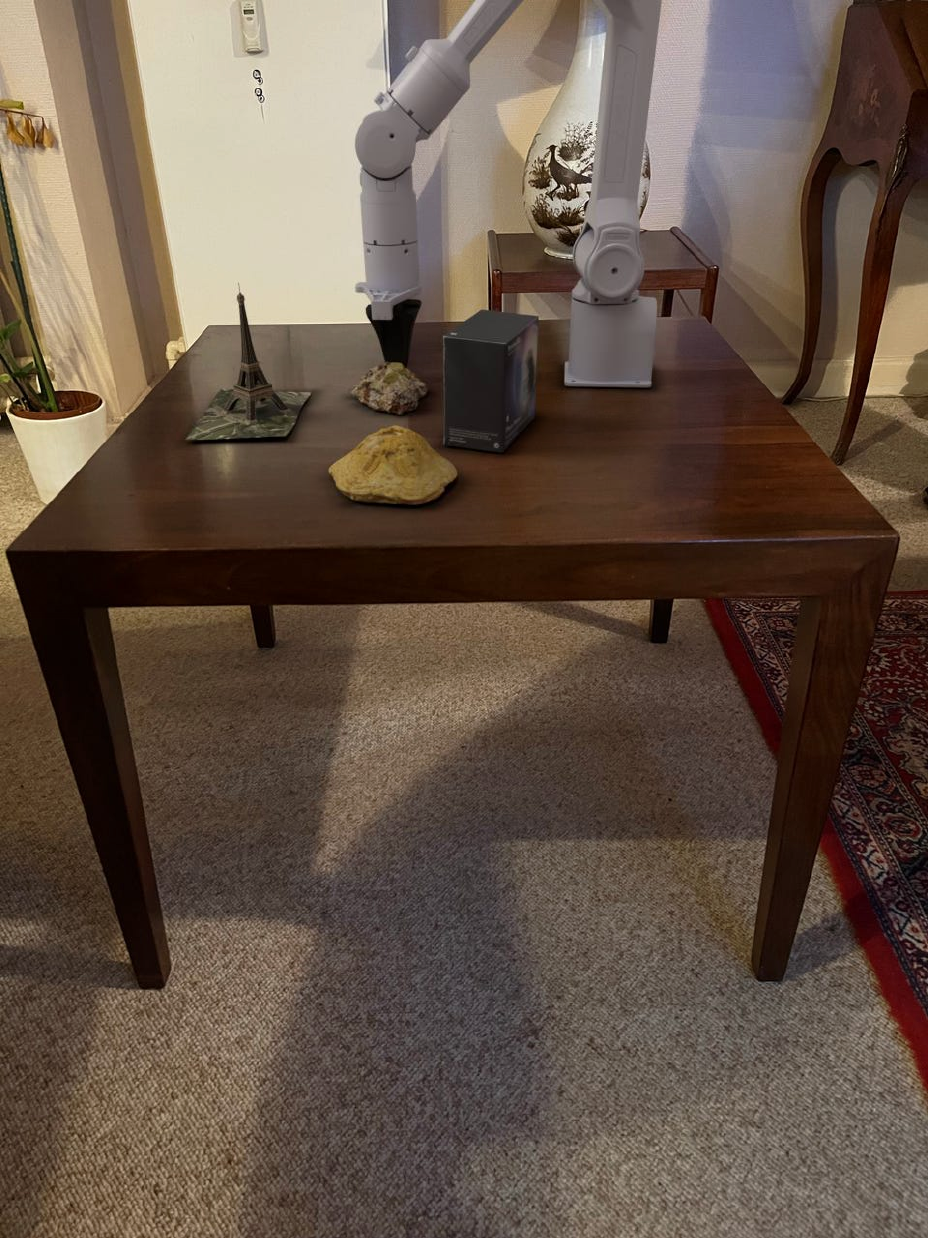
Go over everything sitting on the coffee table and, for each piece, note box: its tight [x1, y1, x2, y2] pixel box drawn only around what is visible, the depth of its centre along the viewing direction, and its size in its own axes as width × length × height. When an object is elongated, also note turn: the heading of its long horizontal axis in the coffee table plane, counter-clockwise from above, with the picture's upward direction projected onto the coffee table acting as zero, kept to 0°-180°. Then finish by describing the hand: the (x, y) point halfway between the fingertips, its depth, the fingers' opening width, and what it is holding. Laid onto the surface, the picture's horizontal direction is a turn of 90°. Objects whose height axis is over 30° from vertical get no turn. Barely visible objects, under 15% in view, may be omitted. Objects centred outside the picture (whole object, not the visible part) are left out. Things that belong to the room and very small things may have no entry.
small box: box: [442, 309, 540, 454], centre depth 89 cm, size 11×6×10 cm, turn 160°
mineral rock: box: [350, 361, 429, 416], centre depth 99 cm, size 11×4×8 cm
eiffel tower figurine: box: [185, 282, 313, 441], centre depth 93 cm, size 15×10×13 cm
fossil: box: [328, 424, 458, 506], centre depth 80 cm, size 11×6×10 cm
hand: (397, 369), depth 104 cm, fingers closed
